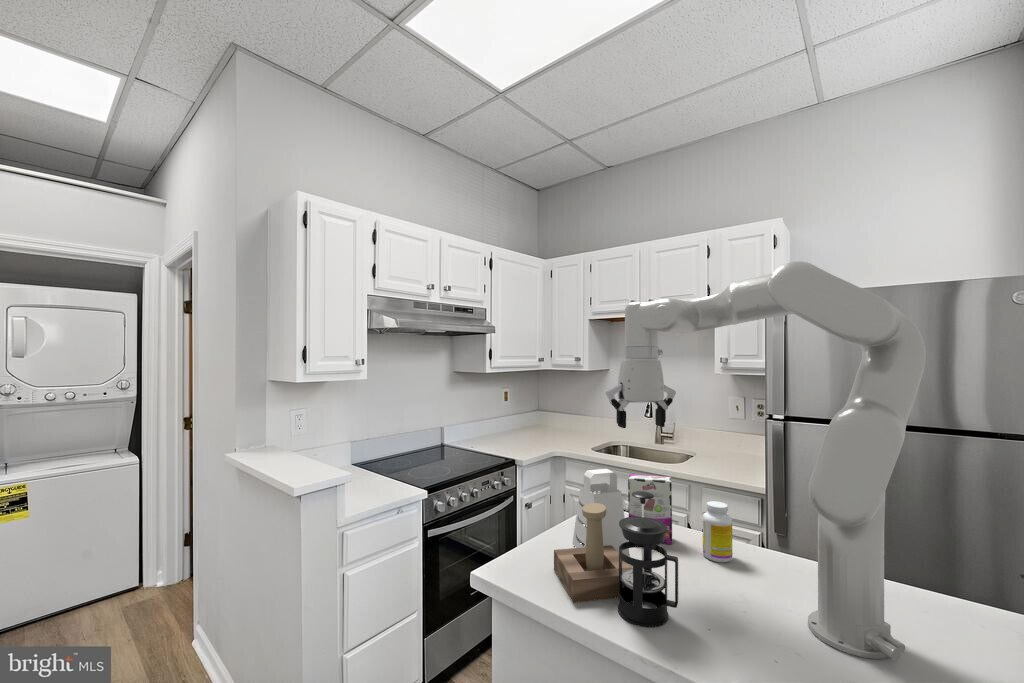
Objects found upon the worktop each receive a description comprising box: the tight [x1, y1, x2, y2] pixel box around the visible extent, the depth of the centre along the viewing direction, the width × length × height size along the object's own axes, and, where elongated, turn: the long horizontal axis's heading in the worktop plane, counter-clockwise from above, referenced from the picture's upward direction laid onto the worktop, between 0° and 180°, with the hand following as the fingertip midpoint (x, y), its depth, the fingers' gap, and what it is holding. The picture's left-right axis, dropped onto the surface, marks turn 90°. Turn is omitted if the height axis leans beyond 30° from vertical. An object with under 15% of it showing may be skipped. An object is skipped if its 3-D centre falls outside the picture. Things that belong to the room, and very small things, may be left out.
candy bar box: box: [627, 473, 673, 545], centre depth 123 cm, size 11×5×16 cm, turn 73°
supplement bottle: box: [702, 500, 734, 563], centre depth 113 cm, size 7×7×13 cm
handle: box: [582, 503, 606, 571], centre depth 100 cm, size 5×6×15 cm
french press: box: [617, 491, 679, 628], centre depth 89 cm, size 12×9×23 cm
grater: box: [571, 468, 631, 557], centre depth 116 cm, size 10×10×20 cm
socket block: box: [553, 545, 633, 604], centre depth 100 cm, size 14×14×4 cm
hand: (641, 426), depth 109 cm, fingers open, 9 cm apart
